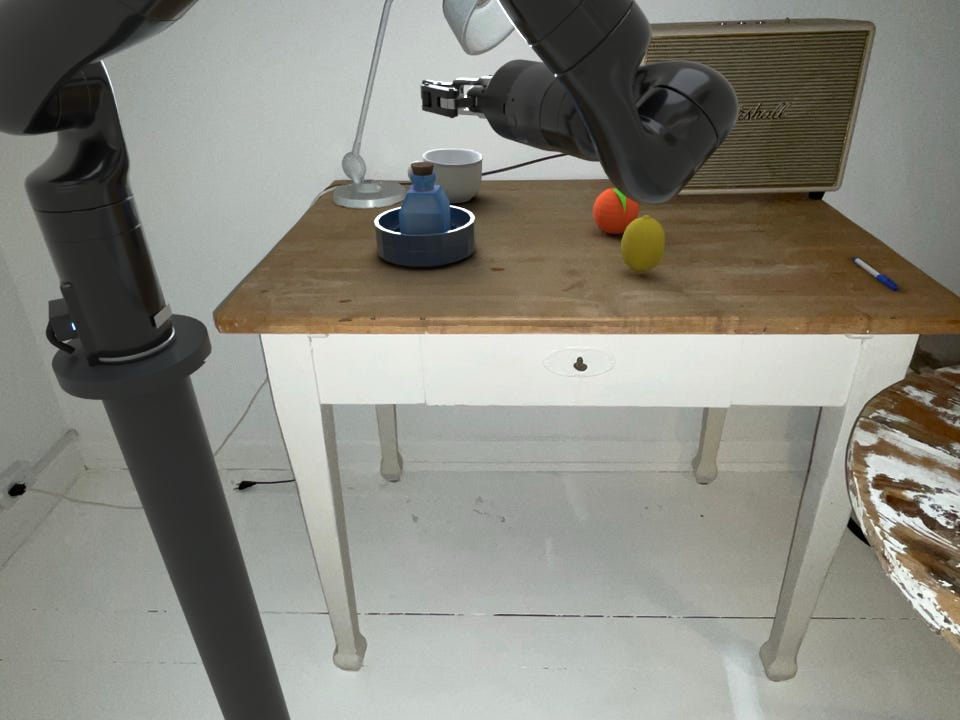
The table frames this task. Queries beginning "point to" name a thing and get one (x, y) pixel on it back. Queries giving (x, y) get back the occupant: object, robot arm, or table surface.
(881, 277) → the blue and white marker
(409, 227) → the perfume bottle
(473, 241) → the bowl
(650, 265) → the lemon
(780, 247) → the table surface
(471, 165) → the teacup
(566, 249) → the table surface
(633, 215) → the clementine
